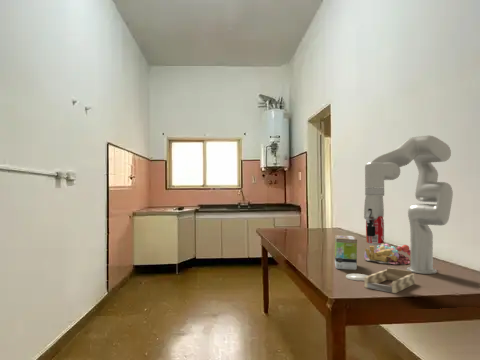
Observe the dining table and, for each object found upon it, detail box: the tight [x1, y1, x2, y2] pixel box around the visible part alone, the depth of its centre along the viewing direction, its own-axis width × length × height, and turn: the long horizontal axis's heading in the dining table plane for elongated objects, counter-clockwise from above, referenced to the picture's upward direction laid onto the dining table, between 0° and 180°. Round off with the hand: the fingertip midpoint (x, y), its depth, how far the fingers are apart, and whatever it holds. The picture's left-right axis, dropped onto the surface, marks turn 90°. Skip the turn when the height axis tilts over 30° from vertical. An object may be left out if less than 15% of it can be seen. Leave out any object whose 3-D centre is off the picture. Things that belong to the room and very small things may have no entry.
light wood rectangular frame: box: [364, 267, 416, 294], centre depth 153 cm, size 20×12×5 cm, turn 137°
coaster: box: [345, 273, 369, 282], centre depth 166 cm, size 10×10×1 cm
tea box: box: [334, 234, 358, 271], centre depth 191 cm, size 15×10×15 cm, turn 168°
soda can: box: [365, 215, 385, 246], centre depth 159 cm, size 7×7×12 cm
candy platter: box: [364, 243, 410, 265], centre depth 208 cm, size 25×24×9 cm
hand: (374, 234), depth 159 cm, fingers closed on soda can, 7 cm apart
